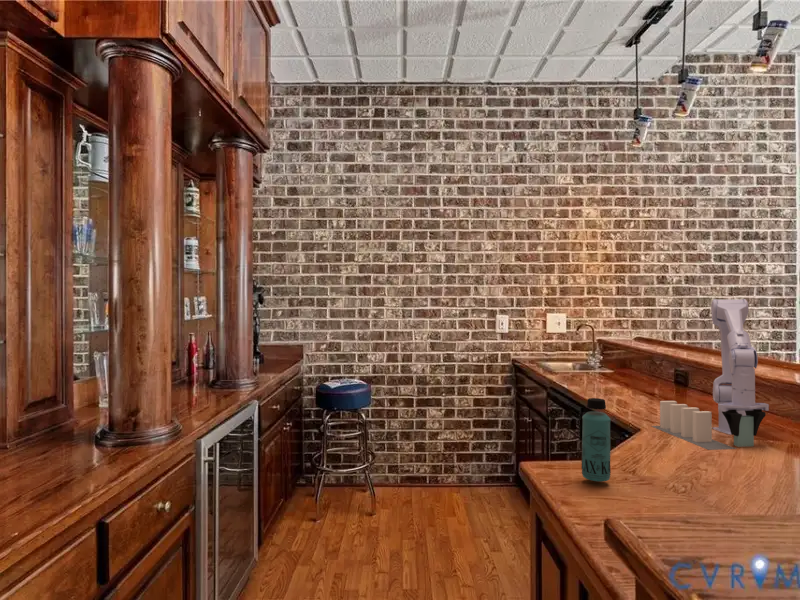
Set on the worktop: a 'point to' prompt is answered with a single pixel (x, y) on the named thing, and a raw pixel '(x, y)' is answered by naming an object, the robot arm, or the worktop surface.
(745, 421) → the teal domino
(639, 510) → the worktop surface
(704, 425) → the ivory domino
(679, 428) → the ivory domino
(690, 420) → the ivory domino
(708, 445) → the mat
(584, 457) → the beverage bottle
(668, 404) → the ivory domino
